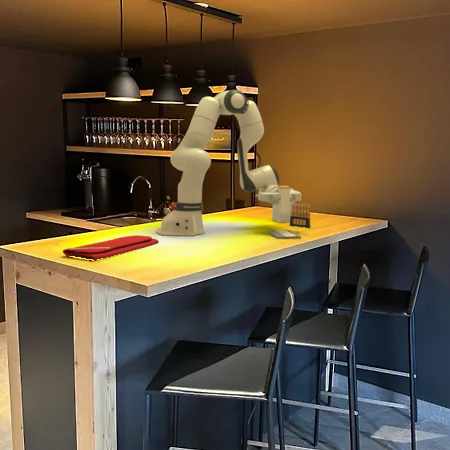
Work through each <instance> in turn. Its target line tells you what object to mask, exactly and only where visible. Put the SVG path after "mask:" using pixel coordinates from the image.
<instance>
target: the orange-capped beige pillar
mask: <svg viewBox="0 0 450 450" xmlns="http://www.w3.org/2000/svg"><path fill="white" fill-rule="evenodd" d="M290 188H291V187H290V186H289V185H279V196H280V200H279V201H278V212H279V213H289V204H290Z"/></svg>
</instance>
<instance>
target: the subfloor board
mask: <svg viewBox="0 0 450 450" xmlns="http://www.w3.org/2000/svg"><path fill="white" fill-rule="evenodd" d="M267 234H268V235H270V236H271V237H272V238H275V239H277V240H283V239H284V240H287V239H289V240H291V239H297V240H298V239H301V237H302V236H301V235H299V234H297V233H295V232H294V231H291V230H284V229H283V230H267Z"/></svg>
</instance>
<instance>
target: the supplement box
mask: <svg viewBox="0 0 450 450" xmlns="http://www.w3.org/2000/svg"><path fill="white" fill-rule="evenodd" d="M292 203H294V206H295V204H296V201H293V202H290V204H289V213H279V212H278V204H277V205H274V204H272V209H271V210H272V211H271V212H272V214H271V220H272V221H273V222H277V223H279V224H280V223H290V216H291V209H292Z"/></svg>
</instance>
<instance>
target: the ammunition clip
mask: <svg viewBox="0 0 450 450" xmlns="http://www.w3.org/2000/svg"><path fill="white" fill-rule="evenodd" d="M289 226H290V227H295V226H297V228H303V227H305V229H310V228H311V206H310V203H308V204H307V203H297V202H295V205H294V203H292V209H291V216H290V222H289Z"/></svg>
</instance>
